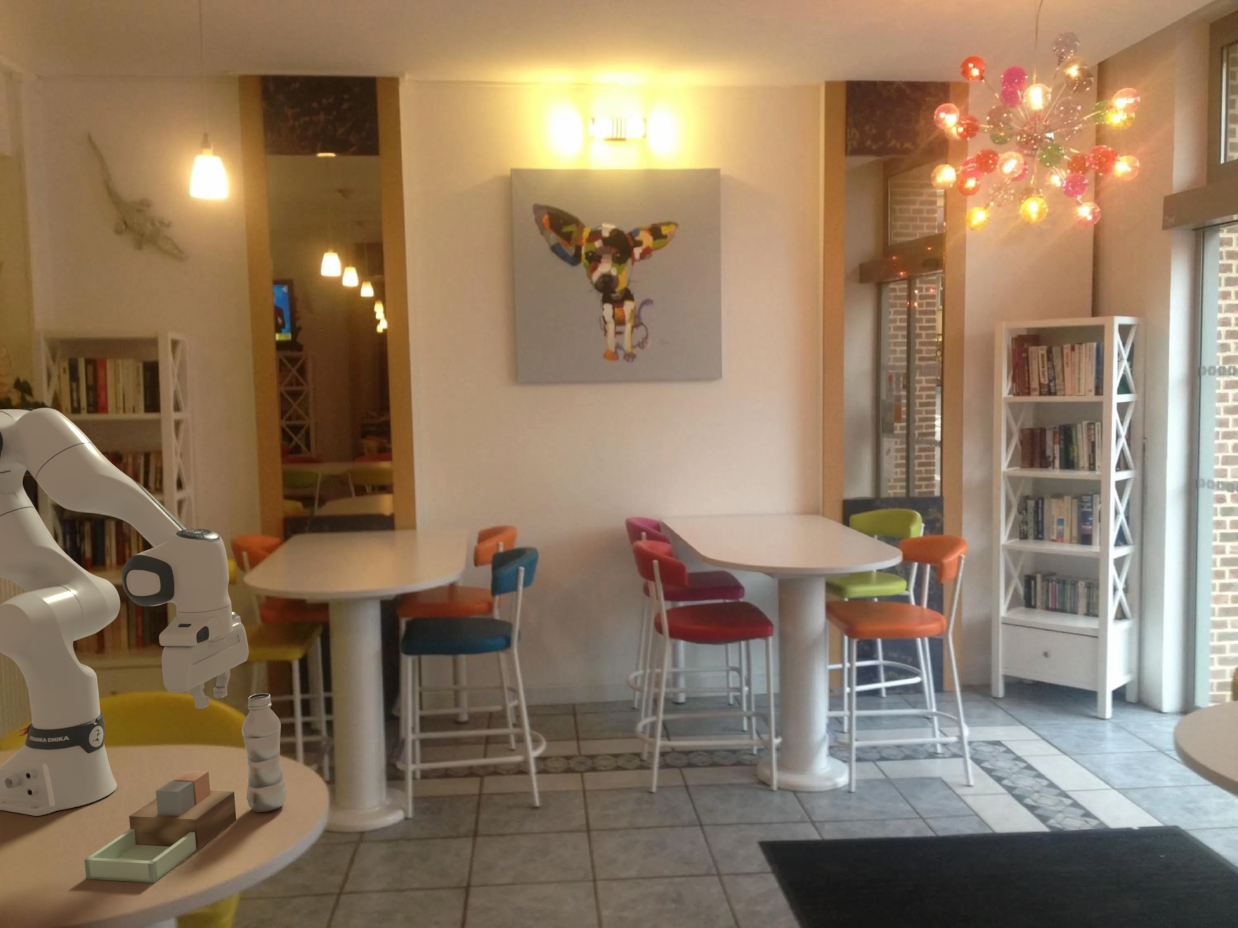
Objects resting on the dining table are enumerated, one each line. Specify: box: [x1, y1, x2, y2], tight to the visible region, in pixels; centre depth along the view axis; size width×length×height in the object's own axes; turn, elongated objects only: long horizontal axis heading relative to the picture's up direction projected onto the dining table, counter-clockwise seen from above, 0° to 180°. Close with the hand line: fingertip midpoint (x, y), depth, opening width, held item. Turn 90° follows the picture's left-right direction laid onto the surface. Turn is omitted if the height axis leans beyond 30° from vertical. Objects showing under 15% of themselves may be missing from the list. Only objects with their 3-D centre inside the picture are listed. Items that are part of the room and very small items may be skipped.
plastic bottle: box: [241, 692, 287, 813], centre depth 184 cm, size 6×7×20 cm
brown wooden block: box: [128, 790, 237, 851], centre depth 176 cm, size 12×11×5 cm
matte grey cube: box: [155, 780, 195, 816], centre depth 173 cm, size 4×4×4 cm
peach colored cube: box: [172, 770, 211, 804], centre depth 177 cm, size 4×4×4 cm
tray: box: [84, 828, 197, 884], centre depth 165 cm, size 12×11×3 cm
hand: (211, 701), depth 184 cm, fingers open, 4 cm apart
